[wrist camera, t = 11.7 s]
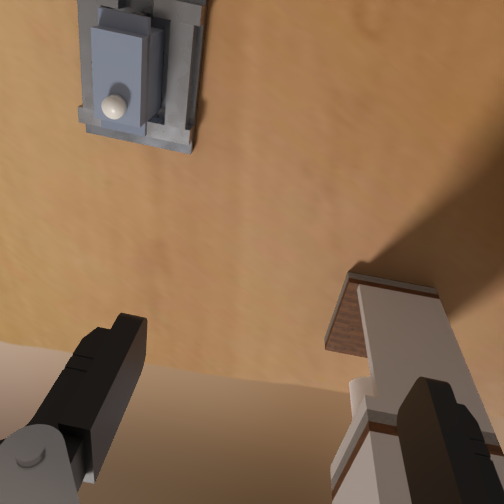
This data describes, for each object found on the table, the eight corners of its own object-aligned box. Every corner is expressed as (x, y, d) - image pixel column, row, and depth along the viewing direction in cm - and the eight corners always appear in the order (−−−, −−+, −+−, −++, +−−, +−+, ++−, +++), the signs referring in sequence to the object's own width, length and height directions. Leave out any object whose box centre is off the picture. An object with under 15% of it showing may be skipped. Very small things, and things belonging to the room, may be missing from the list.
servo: (120, 4, 36) (83, 9, 30) (165, 13, 36) (138, 20, 30) (120, 113, 41) (89, 135, 36) (159, 122, 41) (135, 145, 36)
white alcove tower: (347, 271, 50) (403, 678, 21) (435, 288, 50) (612, 720, 21) (324, 338, 56) (342, 721, 27) (402, 353, 56) (502, 753, 27)
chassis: (82, -43, 35) (68, -45, 33) (209, -16, 36) (203, -16, 33) (90, 129, 44) (79, 136, 42) (193, 150, 44) (187, 159, 42)
